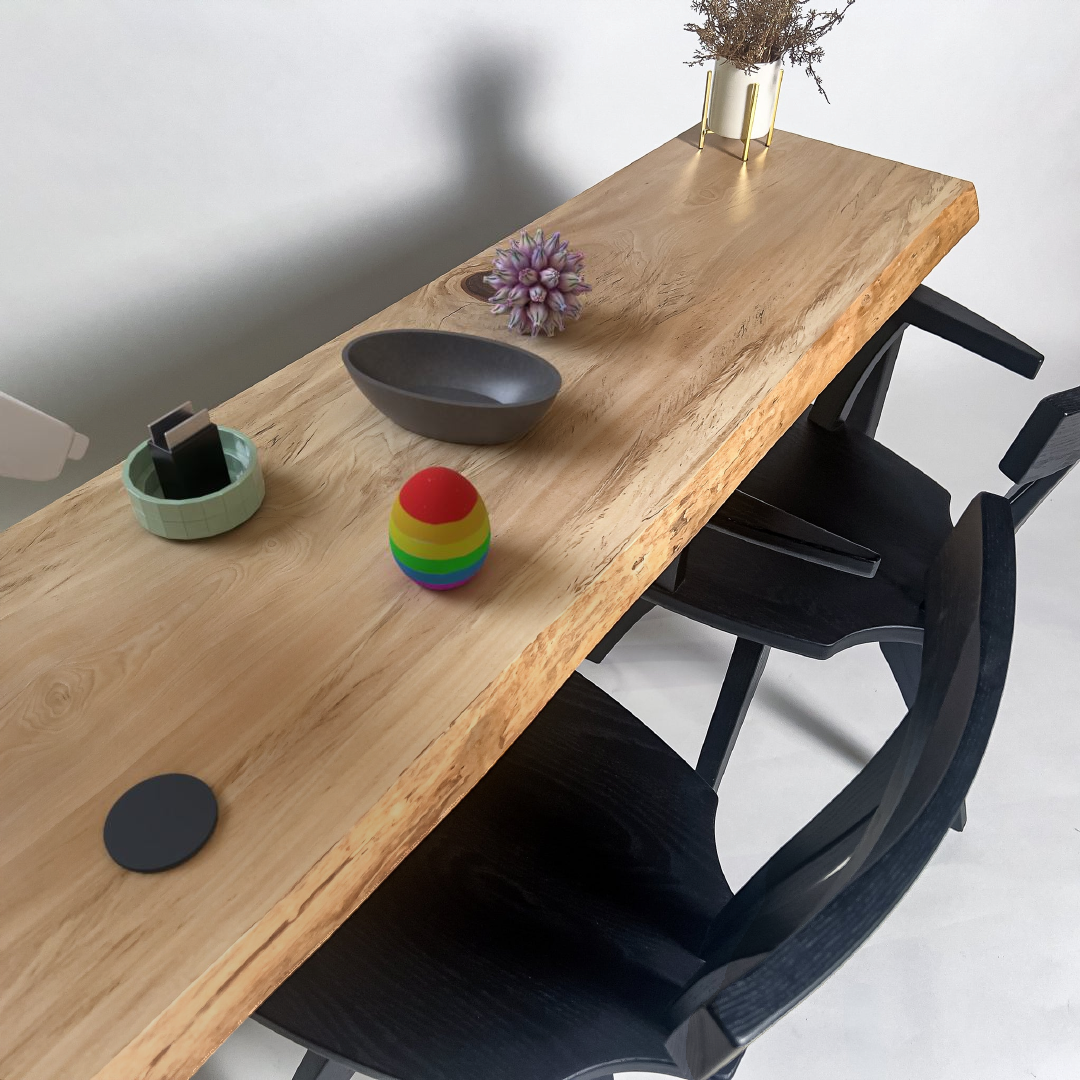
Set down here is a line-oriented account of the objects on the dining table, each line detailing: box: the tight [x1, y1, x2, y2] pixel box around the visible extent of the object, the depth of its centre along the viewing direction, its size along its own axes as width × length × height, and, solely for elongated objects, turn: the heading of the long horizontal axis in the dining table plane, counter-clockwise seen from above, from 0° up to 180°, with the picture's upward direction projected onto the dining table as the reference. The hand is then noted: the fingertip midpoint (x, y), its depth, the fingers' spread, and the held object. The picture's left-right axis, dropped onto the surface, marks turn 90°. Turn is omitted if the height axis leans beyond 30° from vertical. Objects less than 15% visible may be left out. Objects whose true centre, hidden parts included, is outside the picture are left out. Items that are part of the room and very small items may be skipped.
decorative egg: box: [388, 466, 492, 591], centre depth 77 cm, size 8×8×10 cm
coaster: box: [102, 772, 219, 874], centre depth 62 cm, size 7×7×1 cm
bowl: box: [341, 328, 563, 446], centre depth 94 cm, size 12×22×6 cm, turn 71°
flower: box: [482, 228, 593, 340], centre depth 106 cm, size 12×12×12 cm
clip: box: [147, 400, 232, 500], centre depth 83 cm, size 5×3×9 cm, turn 147°
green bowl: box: [121, 424, 266, 540], centre depth 85 cm, size 11×11×4 cm
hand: (36, 423), depth 69 cm, fingers open, 8 cm apart
